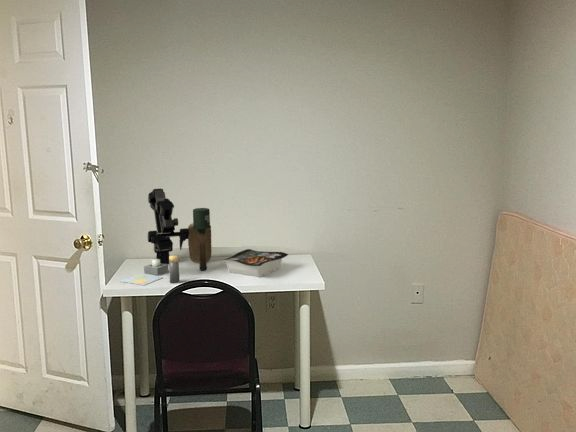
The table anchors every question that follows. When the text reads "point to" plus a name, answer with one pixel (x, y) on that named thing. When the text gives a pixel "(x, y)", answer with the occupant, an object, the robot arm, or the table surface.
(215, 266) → the table surface
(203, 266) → the potato masher grenade
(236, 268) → the food packaging
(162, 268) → the button housing
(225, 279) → the table surface
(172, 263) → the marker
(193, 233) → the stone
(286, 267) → the table surface
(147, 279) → the worksheet
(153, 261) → the button cap
